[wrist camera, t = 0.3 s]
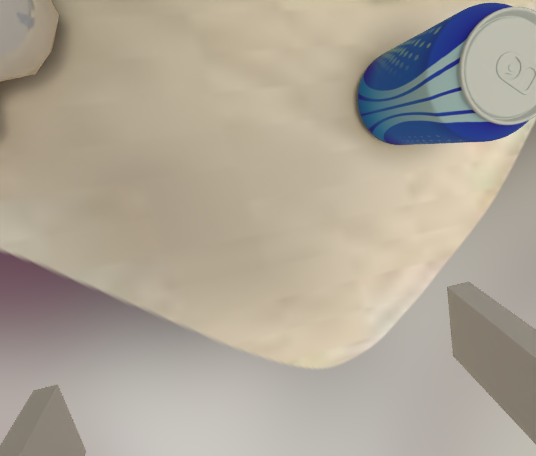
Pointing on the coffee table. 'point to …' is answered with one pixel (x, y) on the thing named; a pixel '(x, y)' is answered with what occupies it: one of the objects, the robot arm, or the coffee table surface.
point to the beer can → (455, 80)
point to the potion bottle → (25, 36)
